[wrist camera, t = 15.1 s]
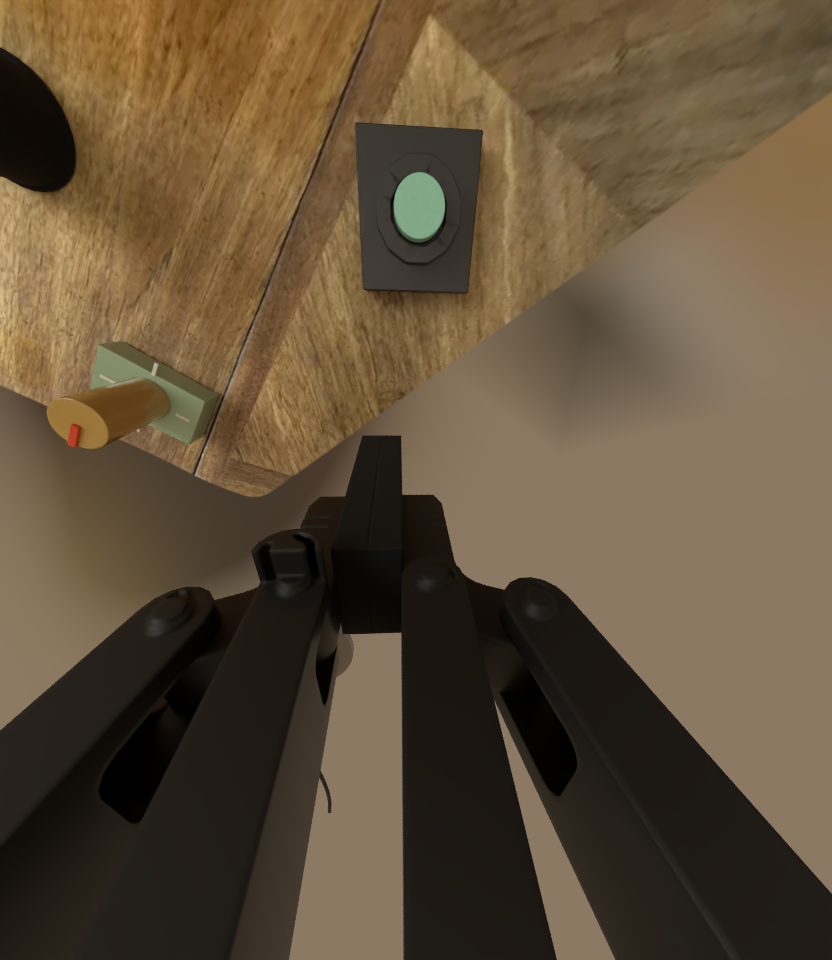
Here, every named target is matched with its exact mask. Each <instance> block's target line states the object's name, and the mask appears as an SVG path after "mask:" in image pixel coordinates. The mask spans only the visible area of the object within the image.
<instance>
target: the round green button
mask: <svg viewBox="0 0 832 960" xmlns="http://www.w3.org/2000/svg"><path fill="white" fill-rule="evenodd" d="M444 213H445V199H444V194H443V191H442V189H441V187H440V185H439V183H438V182H437V181H436V180H435V179H434V178H433V177H432V176H431V175H429V174H426V173H423V172H416V173H412V174H410V175H408V176H407V177H406V178H404V179H403V181H402V182H401V183H400V185H399V186H398V188H397V191H396V194H395V198H394V216H395V221H396V224H397V227H398V229H399V231H400V232H401V234H402V235H403V236H404V237H405V238H406V239H408V240H410V241H412V242H416V243H421V242H425V241H427V240H429V239H431V238H432V237H433V236H434V235H435V234H436V232H437V231H438V229H439V227H440V225H441V223H442V221H443V218H444Z"/></svg>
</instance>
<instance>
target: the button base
mask: <svg viewBox="0 0 832 960" xmlns="http://www.w3.org/2000/svg"><path fill="white" fill-rule="evenodd" d="M355 131H356V152H357V172H358V193H359V214H360V235H361V256H362V276H363V289H364V290H372V291H401V292H431V293H461V294H464V293H468V286H469V275H470V265H471V254H472V243H473V233H474V222H475V211H476V201H477V190H478V179H479V169H480V158H481V147H482V137H483V130H473V129H456V128H439V127H423V126H406V125H389V124H373V123H355ZM416 172H423V173H426V174H429V175H431V176H432V177H433V178H434V179H435V180H436V181H437V182H438V183H439V185H440V187H441V189H442V191H443V194H444V199H445V213H444V218H443V221H442V223H441V225H440V227H439V229H438V231H437V232H436V234H435V235H434V236H433V237H432V238H431V239H429V240H427V241H425V242H421V243H416V242H412V241H410V240H408V239H406V238H405V237H404V236H403V235H402V234H401V232H400V231H399V229H398V227H397V224H396V221H395V216H394V198H395V194H396V191H397V188H398V186H399V185H400V183H401V182H402V181H403V179H404V178H406V177H407V176H408V175H410V174H412V173H416Z"/></svg>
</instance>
